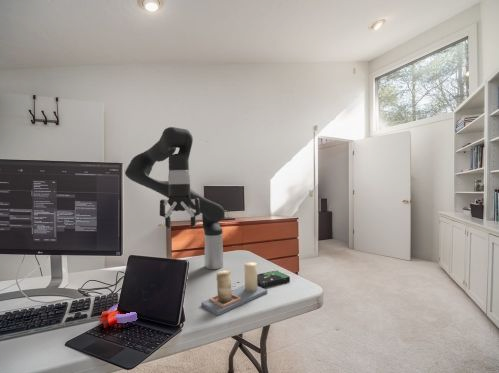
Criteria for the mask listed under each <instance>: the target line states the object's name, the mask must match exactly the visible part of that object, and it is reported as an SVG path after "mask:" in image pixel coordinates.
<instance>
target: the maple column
mask: <svg viewBox="0 0 499 373" xmlns="http://www.w3.org/2000/svg"><path fill="white" fill-rule="evenodd" d="M231 273H232V272H231V271H229V270H225V269H224V270H220V271H217V272H216V288H217V290H216V291H217V295H218V302H220V303H228V302H230V301H231V300H232V295H231V290H232V279H231V278H232V277H231V276H232V275H231Z"/></svg>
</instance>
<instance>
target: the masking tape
mask: <svg viewBox="0 0 499 373" xmlns="http://www.w3.org/2000/svg"><path fill="white" fill-rule="evenodd" d="M118 304H119V303H117V304H114V305H113V306H111V307H110V308H109V309H108V310H107V312H108V311H114V310H117V307H118ZM115 318H116V319H117V323H127V322H132V321H136V320H137V319H138V318H137V313H136V312H130V313H126V314H116V316H115Z"/></svg>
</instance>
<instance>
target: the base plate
mask: <svg viewBox="0 0 499 373" xmlns="http://www.w3.org/2000/svg"><path fill="white" fill-rule="evenodd" d="M243 267H244V284H243V285H242V286H239V287H237V288H233V289H231V295H232V300H231V301H230V302H228V303H220V302H218V294H216V295H214V296H212V297H209V299H206V300H203V301H201V302H200V306H202V307H203V308H205V309H206V310H208V311H210V313H212V314H214V315H216V316H220V315H222V314H224V313H226V312H229V311H231V310H234V309H236V308H237V307H240V306H242V305H244V304H247V303H248V302H251V301H252V300H255V299H257V298H259V297H261V296H264V295H265V294H268V289H266V288H261V287H259V286H257V274H258V263H257V262H245V263H244V265H243Z"/></svg>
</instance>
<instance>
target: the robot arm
mask: <svg viewBox="0 0 499 373" xmlns="http://www.w3.org/2000/svg"><path fill="white" fill-rule="evenodd" d="M193 141H194V139H193V135H192V132H191V131H190V130H189V129H186V128H179V127H175V126H174V127H172V126H170V127H166V128H165V129H164V130H163V131H162V133H161V136H160V138H159V140H158V141H156V142H155V144H154V145H152V146H151V147H150V148H149V149H147V150H145V151H143V152H141V153H139V154H137V155H135V156H133V157H132V159H131V160H130V162H129V164H128V165H127V168H126V169H125V172H124V173H125V174H124V175H125V176H126V177H127V178H128V179H129V180H130V181H131V182H134V183H136V184H139V185H141V186H144V187H146V188H148V189H150V190H152V191H155V192H156V193H158V194H160V195H162V196H164V197H166V198H167V199H164V198H163V199H160V200H159V216H160V217H163V218H164V222H165V223H164V225H165V227H166V228H167V229H170V228H171V224H172V223H171V215H172V214H173V213H174V212H184V211H185V212H187V213H188V214H189V215H190V228H194V227H195V225H196V224H197V223H196V218H197V216H199V215H200V214H202V215H201V216H202V218H201V219H202V220H201V221H202V228H203V231H204V250H203V251H204V266H205V268H206V269H208V270H218V269H222V268H224V249H223V247H224V246H223V228H222V227H221V225H220V224H219V223H220V221H222V220H223V219H224V218H225V215H226V214H225V209H224V207H223V206H222V205H220V204H218V203H217V202H214V201H211V200H210V199H208V198H206V197H204V196H202V195H201V194H199V193H198V192H196V191H195V190H194V189H192V188H191V178H190V176H191V175H190V167H189V166H190V164H189V160H190V156H191V151H192V146H193V143H194V142H193ZM177 148H178V149H179V150H178V152H177V153H175V152H176V149H177ZM167 159H168V179H167V180H168V181H167V180H165V181H164V180H163V181H162V180H158V179H155V178H153V177H151V176H150V174H151V172H152V170H153V166H154V165H155V163H158V162H159V163H160V162H163V161H165V160H167ZM167 205H169V206H170V207H169V209H168V210H167V211H166V206H167Z"/></svg>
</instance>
